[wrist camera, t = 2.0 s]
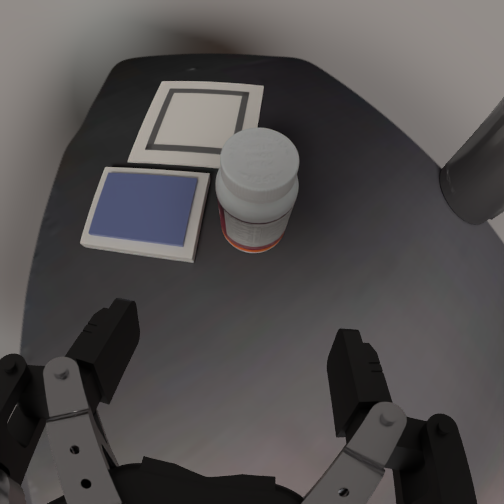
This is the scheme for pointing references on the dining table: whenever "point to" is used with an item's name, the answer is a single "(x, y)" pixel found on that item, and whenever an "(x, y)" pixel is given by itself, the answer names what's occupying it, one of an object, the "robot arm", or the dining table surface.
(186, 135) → the white flat square slab
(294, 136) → the dining table surface
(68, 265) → the dining table surface
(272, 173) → the pill bottle
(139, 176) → the ink pad
